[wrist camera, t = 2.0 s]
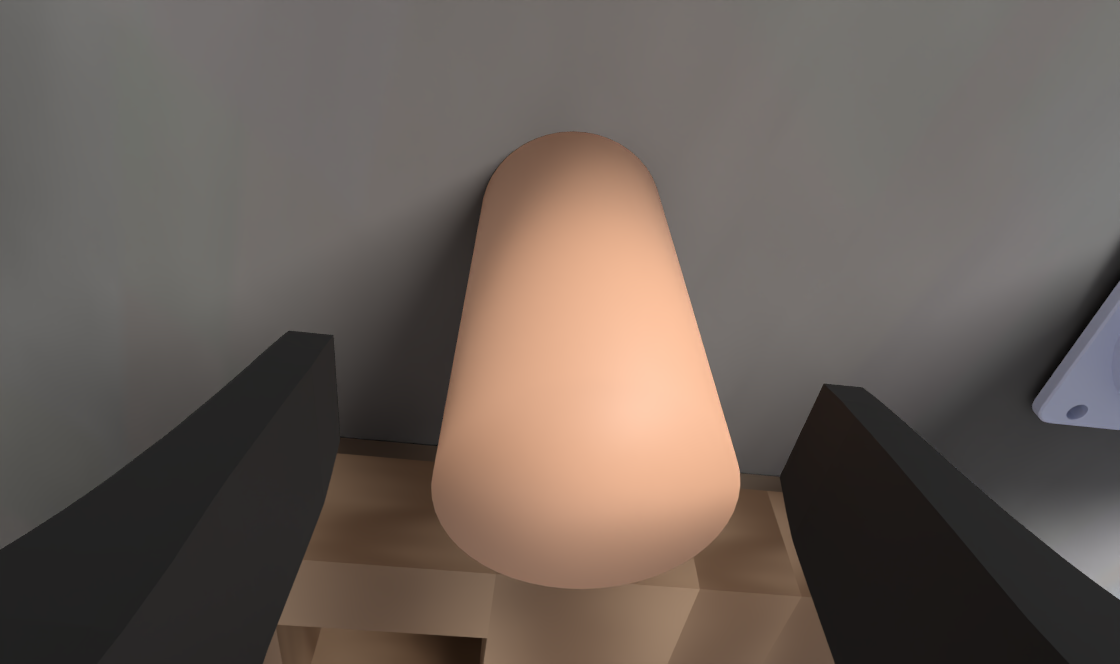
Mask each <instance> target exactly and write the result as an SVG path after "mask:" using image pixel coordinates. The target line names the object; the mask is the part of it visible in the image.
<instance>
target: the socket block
mask: <svg viewBox="0 0 1120 664" xmlns="http://www.w3.org/2000/svg"><path fill="white" fill-rule="evenodd" d="M437 448H438V446H430V445H419V444H408V443H397V442H386V441H374V440H363V439H352V438H341V437H340V443H339V447H338V451H337V455H336V459H335V463H334V467H333V472H332V476H331V479H330V483H329V487H328V491H327V495H326V499H325V502H324V505H323V508H322V511H321V513H320V516H319V519H318V521H317V524H316V526H315V529H314V532H313V534H312V537H311V540H310V542H309V545H308V547H307V550H306V553H305V555H304V558H303V560H302V563H301V565H300V568H299V571H298V573H297V576H296V578H295V581H294V583H293V586H292V589H291V591H290V594H289V596H288V599H287V601H286V604H285V607H284V609H283V612H282V614H281V617H280V619H279V622H278V624H277V627H276V630H275V632H274V635H273V637H272V640H271V642H270V645H269V648H268V650H267V653H266V656H265V659H264V662H263V664H835V663H834V660H833V657H832V654H831V651H830V648H829V646H828V643H827V640H826V637H825V634H824V631H823V628H822V626H821V623H820V620H819V617H818V614H817V611H816V608H815V606H814V603H813V600H812V597H811V594H810V591H809V588H808V586H807V583H806V580H805V577H804V574H803V571H802V568H801V565H800V562H799V559H798V556H797V553H796V550H795V547H794V544H793V541H792V537H791V532H790V528H789V523H788V519H787V514H786V509H785V504H784V498H783V492H782V487H781V481H780V477H777V476H766V475H754V474H743V473H740V491H739V498H738V501H737V504H736V507H735V510H734V512H733V514H732V516H731V518H730V519H729V521H728V523H727V525H726V526H725V527H724V529H723V530H722V531H721V533H720V534H719V535H718V536H717V537H716V538H715V539H714V540H713V541H712V542H711V543H710V544H709V545H708V546H707V547H706V548H705V549H703V550H702V551H701V552H700V553H698V554H697V555H696V556H694V557H693V558H691V559H689V560H688V561H686V562H685V563H683V564H681V565H679V566H677V567H675V568H673V569H671V570H669V571H667V572H665V573H662V574H659V575H657V576H654V577H652V578H648V579H645V580H642V581H638V582H635V583H630V584H625V585H620V586H614V587H606V588H594V589H566V588H556V587H547V586H542V585H537V584H532V583H527V582H524V581H520V580H517V579H514V578H511V577H508V576H506V575H503V574H501V573H498V572H496V571H494V570H492V569H490V568H488V567H486V566H484V565H482V564H481V563H479V562H478V561H476V560H475V559H473V558H472V557H470V556H469V555H468V554H467V553H465V552H464V551H463V550H462V549H461V548H459V547H458V546H457V545H456V543H455V542H454V541H453V540H452V539H451V538H450V537H449V536H448V534H447V533H446V531H445V530H444V528H443V527H442V525H441V523H440V521H439V519H438V517H437V515H436V512H435V509H434V505H433V501H432V490H431V483H432V476H433V470H434V464H435V459H436V453H437Z"/></svg>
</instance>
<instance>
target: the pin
mask: <svg viewBox="0 0 1120 664" xmlns="http://www.w3.org/2000/svg"><path fill="white" fill-rule="evenodd" d="M431 490H432V501H433V505H434V509H435V512H436V515H437V517H438V519H439V521H440V523H441V525H442V527H443V528H444V530H445V531H446V533H447V534H448V536H449V537H450V538H451V539H452V540H453V541H454V542H455V543H456V545H457V546H458V547H459V548H461V549H462V550H463V551H464V552H465V553H467V554H468V555H469V556H470V557H472V558H473V559H475V560H476V561H478V562H479V563H481V564H482V565H484V566H486V567H488V568H490V569H492V570H494V571H496V572H498V573H501V574H503V575H506V576H508V577H511V578H514V579H517V580H520V581H524V582H527V583H532V584H537V585H542V586H547V587H556V588H566V589H594V588H606V587H614V586H620V585H625V584H630V583H635V582H638V581H642V580H645V579H648V578H652V577H654V576H657V575H659V574H662V573H665V572H667V571H669V570H671V569H673V568H675V567H677V566H679V565H681V564H683V563H685V562H686V561H688V560H689V559H691V558H693V557H694V556H696V555H697V554H698V553H700V552H701V551H702V550H703V549H705V548H706V547H707V546H708V545H709V544H710V543H711V542H712V541H713V540H714V539H715V538H716V537H717V536H718V535H719V534H720V533H721V531H722V530H723V529H724V527H725V526H726V525H727V523H728V521H729V519H730V518H731V516H732V514H733V512H734V510H735V507H736V504H737V501H738V498H739V491H740V470H739V466H738V462H737V458H736V455H735V451H734V448H733V444H732V441H731V438H730V434H729V431H728V428H727V424H726V421H725V417H724V414H723V411H722V407H721V404H720V400H719V397H718V394H717V390H716V387H715V383H714V380H713V377H712V373H711V370H710V367H709V363H708V360H707V356H706V353H705V350H704V346H703V343H702V339H701V336H700V333H699V329H698V326H697V322H696V319H695V316H694V312H693V309H692V306H691V302H690V299H689V295H688V292H687V289H686V285H685V282H684V278H683V275H682V272H681V268H680V265H679V262H678V258H677V255H676V251H675V248H674V245H673V241H672V238H671V234H670V231H669V228H668V224H667V221H666V217H665V214H664V211H663V207H662V204H661V201H660V197H659V194H658V190H657V187H656V185H655V182H654V180H653V178H652V176H651V174H650V173H649V171H648V170H647V168H646V167H645V165H644V164H643V163H642V162H641V161H640V160H639V158H637V157H636V156H635V155H634V154H633V153H632V152H631V151H629V150H628V149H627V148H625V147H624V146H622V145H621V144H619V143H617V142H615V141H613V140H611V139H608V138H605V137H602V136H599V135H596V134H591V133H586V132H559V133H554V134H549V135H545V136H542V137H539V138H536V139H534V140H532V141H530V142H528V143H526V144H524V145H522V146H521V147H519V148H518V149H516V150H515V151H514V152H512V153H511V154H510V155H509V156H508V157H507V158H505V160H504V161H503V162H502V163H501V164H500V165H499V166H498V168H497V169H496V171H495V172H494V174H493V175H492V177H491V179H490V181H489V183H488V185H487V188H486V191H485V194H484V197H483V203H482V208H481V214H480V219H479V224H478V230H477V235H476V241H475V246H474V252H473V257H472V263H471V268H470V273H469V279H468V284H467V290H466V295H465V301H464V306H463V312H462V317H461V323H460V328H459V333H458V339H457V344H456V350H455V355H454V361H453V366H452V372H451V377H450V382H449V388H448V393H447V399H446V404H445V410H444V415H443V421H442V426H441V431H440V437H439V442H438V448H437V453H436V459H435V464H434V470H433V476H432V483H431Z"/></svg>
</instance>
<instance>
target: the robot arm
mask: <svg viewBox="0 0 1120 664" xmlns="http://www.w3.org/2000/svg"><path fill="white" fill-rule="evenodd" d="M1032 409H1033V411H1034V412H1035V414H1036V415H1037V416H1038V417H1039V418H1040V419H1041V420H1042V421H1043V422H1047V423H1053V424H1063V425H1073V426H1083V427H1093V428H1103V429H1113V430H1120V281H1119V282H1118V284H1117V285H1116V287H1115V288H1114V289H1113V291H1112V292H1111V294H1110V295H1109V296H1108V298H1107V299H1106V301H1105V302H1104V303H1103V305H1102V306H1101V308H1100V309H1099V310H1098V312H1097V313H1096V314H1095V316H1094V317H1093V319H1092V320H1091V321H1090V323H1089V324H1088V326H1087V327H1086V328H1085V330H1084V331H1083V333H1082V334H1081V335H1080V337H1079V338H1078V340H1077V341H1076V342H1075V344H1074V345H1073V347H1072V348H1071V349H1070V351H1069V352H1068V354H1067V355H1066V356H1065V358H1064V359H1063V361H1062V362H1061V363H1060V365H1059V366H1058V368H1057V369H1056V370H1055V372H1054V373H1053V375H1052V376H1051V377H1050V379H1049V380H1048V382H1047V383H1046V384H1045V386H1044V387H1043V389H1042V390H1041V391H1040V393H1039V394H1038V396H1037V397H1036V398H1035V400H1034V402H1033V404H1032ZM339 443H340V429H339V414H338V399H337V384H336V368H335V353H334V338H333V335H326V334H316V333H306V332H296V331H288V332H287V333H285V334H284V335H283V336H282V337H280V338H279V339H278V340H277V341H276V342H275V343H273V344H272V345H271V346H270V347H269V348H268V349H267V350H265V351H264V352H263V353H262V354H261V355H260V356H259V357H258V358H256V359H255V360H254V361H253V362H252V363H251V364H250V365H249V366H247V367H246V368H245V369H244V370H243V371H242V372H241V373H240V374H238V375H237V376H236V377H235V378H234V379H233V380H232V381H230V382H229V383H228V384H227V385H226V386H225V387H224V388H222V389H221V390H220V391H219V392H218V393H217V394H215V395H214V396H213V397H212V398H211V399H209V400H208V401H207V402H206V403H205V404H203V405H202V406H201V407H200V408H199V409H197V410H196V411H195V412H194V413H193V414H191V415H190V416H189V417H188V418H187V419H185V420H184V421H183V422H182V423H181V424H179V425H178V426H177V427H176V428H174V429H173V430H172V431H171V432H169V433H168V434H167V435H166V436H164V437H163V438H162V439H160V440H159V441H158V442H156V443H155V444H154V445H153V446H151V447H150V448H149V449H147V450H146V451H145V452H143V453H142V454H141V455H139V456H138V457H137V458H135V459H134V460H133V461H131V462H130V463H129V464H127V465H126V466H125V467H123V468H122V469H121V470H119V471H118V472H117V473H116V474H114V475H113V476H112V477H110V478H109V479H107V480H106V481H105V482H103V483H102V484H100V485H99V486H97V487H96V488H95V489H93V490H92V491H90V492H89V493H87V494H86V495H85V496H83V497H82V498H80V499H79V500H77V501H76V502H74V503H73V504H71V505H70V506H69V507H67V508H66V509H64V510H63V511H61V512H60V513H58V514H56V515H55V516H53V517H52V518H50V519H49V520H47V521H46V522H44V523H42V524H41V525H39V526H38V527H36V528H35V529H33V530H32V531H30V532H28V533H27V534H25V535H24V536H22V537H20V538H19V539H17V540H16V541H14V542H12V543H11V544H9V545H7V546H6V547H4V548H2V549H1V550H0V664H263V662H264V659H265V656H266V653H267V650H268V648H269V645H270V642H271V640H272V637H273V635H274V632H275V630H276V627H277V624H278V622H279V619H280V617H281V614H282V612H283V609H284V607H285V604H286V601H287V599H288V596H289V594H290V591H291V589H292V586H293V583H294V581H295V578H296V576H297V573H298V571H299V568H300V565H301V563H302V560H303V558H304V555H305V553H306V550H307V547H308V545H309V542H310V540H311V537H312V534H313V532H314V529H315V526H316V524H317V521H318V519H319V516H320V513H321V511H322V508H323V505H324V502H325V499H326V495H327V491H328V487H329V483H330V479H331V476H332V472H333V467H334V463H335V459H336V455H337V451H338V447H339ZM780 481H781V487H782V492H783V498H784V504H785V509H786V514H787V519H788V523H789V528H790V532H791V537H792V541H793V544H794V547H795V550H796V553H797V556H798V559H799V562H800V565H801V568H802V571H803V574H804V577H805V580H806V583H807V586H808V588H809V591H810V594H811V597H812V600H813V603H814V606H815V608H816V611H817V614H818V617H819V620H820V623H821V626H822V628H823V631H824V634H825V637H826V640H827V643H828V646H829V648H830V651H831V654H832V657H833V660H834V663H835V664H1120V600H1119V599H1118V598H1116V597H1115V596H1113V595H1112V594H1111V593H1109V592H1108V591H1106V590H1105V589H1104V588H1102V587H1101V586H1099V585H1098V584H1097V583H1095V582H1094V581H1093V580H1091V579H1090V578H1089V577H1087V576H1086V575H1085V574H1083V573H1082V572H1081V571H1079V570H1078V569H1077V568H1075V567H1074V566H1073V565H1071V564H1070V563H1069V562H1067V561H1066V560H1065V559H1064V558H1062V557H1061V556H1060V555H1059V554H1057V553H1056V552H1055V551H1054V550H1052V549H1051V548H1050V547H1049V546H1047V545H1046V544H1045V543H1044V542H1042V541H1041V540H1040V539H1039V538H1037V537H1036V536H1035V535H1034V534H1032V533H1031V532H1030V531H1029V530H1027V529H1026V528H1025V527H1024V526H1023V525H1021V524H1020V523H1019V522H1018V521H1016V520H1015V519H1014V518H1013V517H1012V516H1010V515H1009V514H1008V513H1007V512H1006V511H1005V510H1003V509H1002V508H1001V507H1000V506H999V505H997V504H996V503H995V502H994V501H993V500H992V499H990V498H989V497H988V496H987V495H986V494H985V493H983V492H982V491H981V490H980V489H979V488H978V487H976V486H975V485H974V484H973V483H972V482H971V481H970V480H968V479H967V478H966V477H965V476H964V475H963V474H962V473H961V472H959V471H958V470H957V469H956V468H955V467H954V466H953V465H951V464H950V463H949V462H948V461H947V460H946V459H945V458H944V457H943V456H941V455H940V454H939V453H938V452H937V451H936V450H935V449H934V448H932V447H931V446H930V445H929V444H928V443H927V442H926V441H925V440H924V439H922V438H921V437H920V436H919V435H918V434H917V433H916V432H915V431H913V430H912V429H911V428H910V427H909V426H908V425H907V424H906V423H904V422H903V421H902V420H901V419H900V418H899V417H898V416H897V415H895V414H894V413H893V412H892V411H891V410H890V409H888V408H887V407H886V406H885V405H884V404H883V403H881V402H880V401H879V400H878V399H877V398H875V397H874V396H873V395H871V394H870V393H869V392H868V391H866V390H865V389H864V388H862V387H852V386H841V385H831V384H823V387H822V389H821V391H820V393H819V395H818V397H817V399H816V401H815V404H814V406H813V408H812V410H811V412H810V414H809V416H808V418H807V421H806V423H805V425H804V427H803V429H802V431H801V433H800V435H799V437H798V440H797V442H796V444H795V446H794V448H793V450H792V452H791V454H790V457H789V459H788V461H787V463H786V465H785V467H784V469H783V471H782V474H781V476H780Z"/></svg>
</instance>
